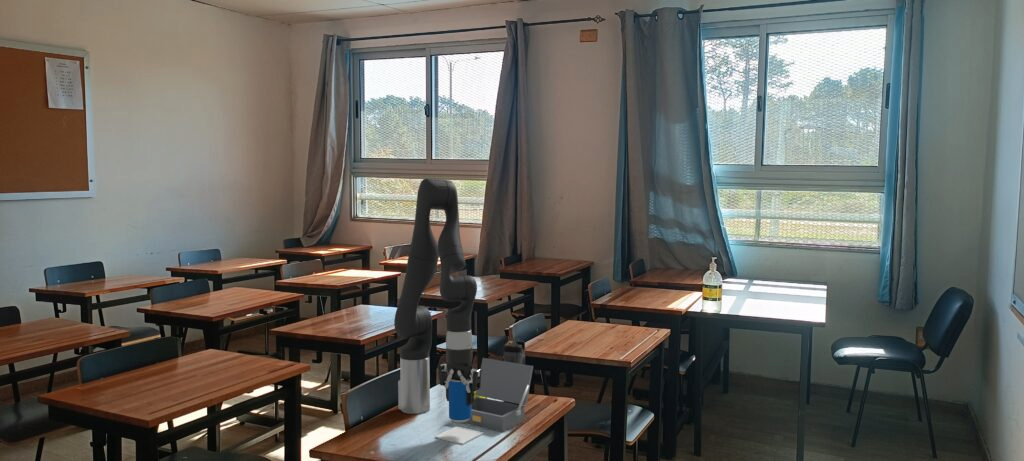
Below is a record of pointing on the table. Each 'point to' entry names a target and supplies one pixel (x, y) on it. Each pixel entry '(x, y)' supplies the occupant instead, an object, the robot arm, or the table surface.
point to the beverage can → (458, 402)
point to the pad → (459, 435)
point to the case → (501, 395)
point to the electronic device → (514, 353)
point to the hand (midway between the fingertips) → (460, 402)
